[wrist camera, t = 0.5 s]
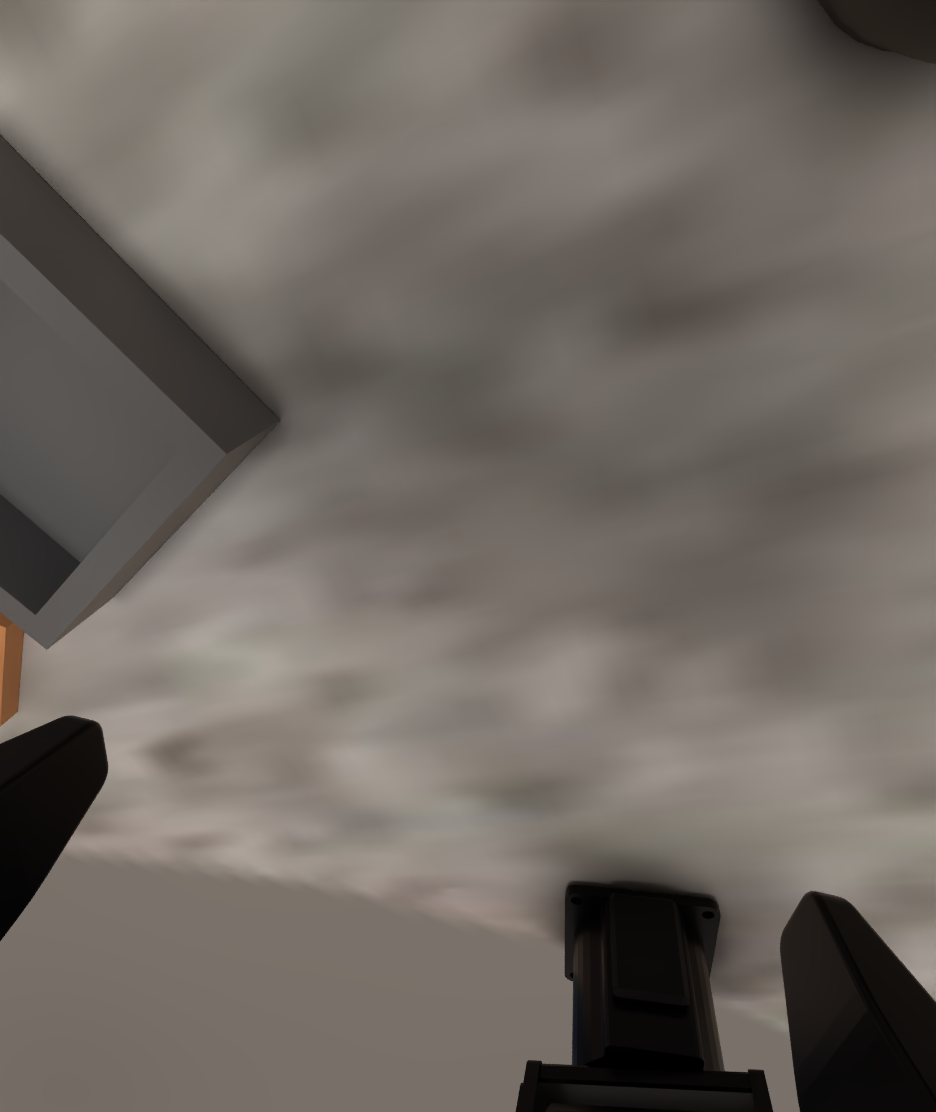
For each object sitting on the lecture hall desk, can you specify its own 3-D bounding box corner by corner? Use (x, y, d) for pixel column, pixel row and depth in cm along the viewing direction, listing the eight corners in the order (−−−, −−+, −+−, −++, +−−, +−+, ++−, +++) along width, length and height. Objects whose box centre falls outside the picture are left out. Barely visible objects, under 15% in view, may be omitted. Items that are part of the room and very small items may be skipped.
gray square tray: (280, 420, 21) (226, 454, 17) (112, 598, 25) (46, 649, 22) (-9, 126, 18) (-133, 104, 15) (-138, 384, 22) (-252, 408, 19)
